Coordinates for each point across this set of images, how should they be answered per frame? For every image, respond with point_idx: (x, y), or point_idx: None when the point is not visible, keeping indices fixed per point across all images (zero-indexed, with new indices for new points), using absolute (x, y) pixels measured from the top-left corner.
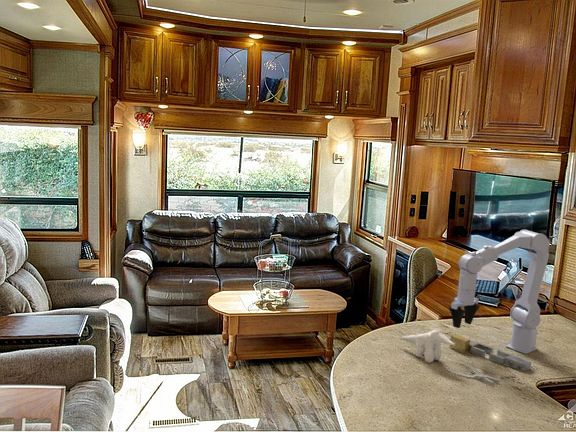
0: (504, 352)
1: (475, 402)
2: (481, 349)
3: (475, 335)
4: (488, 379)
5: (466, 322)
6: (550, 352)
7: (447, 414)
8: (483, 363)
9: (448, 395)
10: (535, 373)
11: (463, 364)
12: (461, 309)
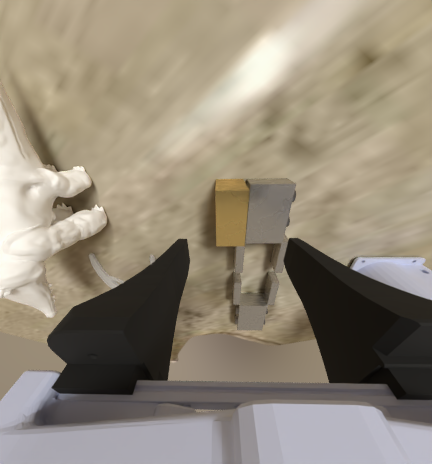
0: (273, 293)
1: None
2: (242, 263)
3: (419, 159)
4: None
5: (288, 247)
6: None
7: (4, 319)
8: (202, 274)
9: None
10: None
11: (150, 260)
12: (150, 380)
